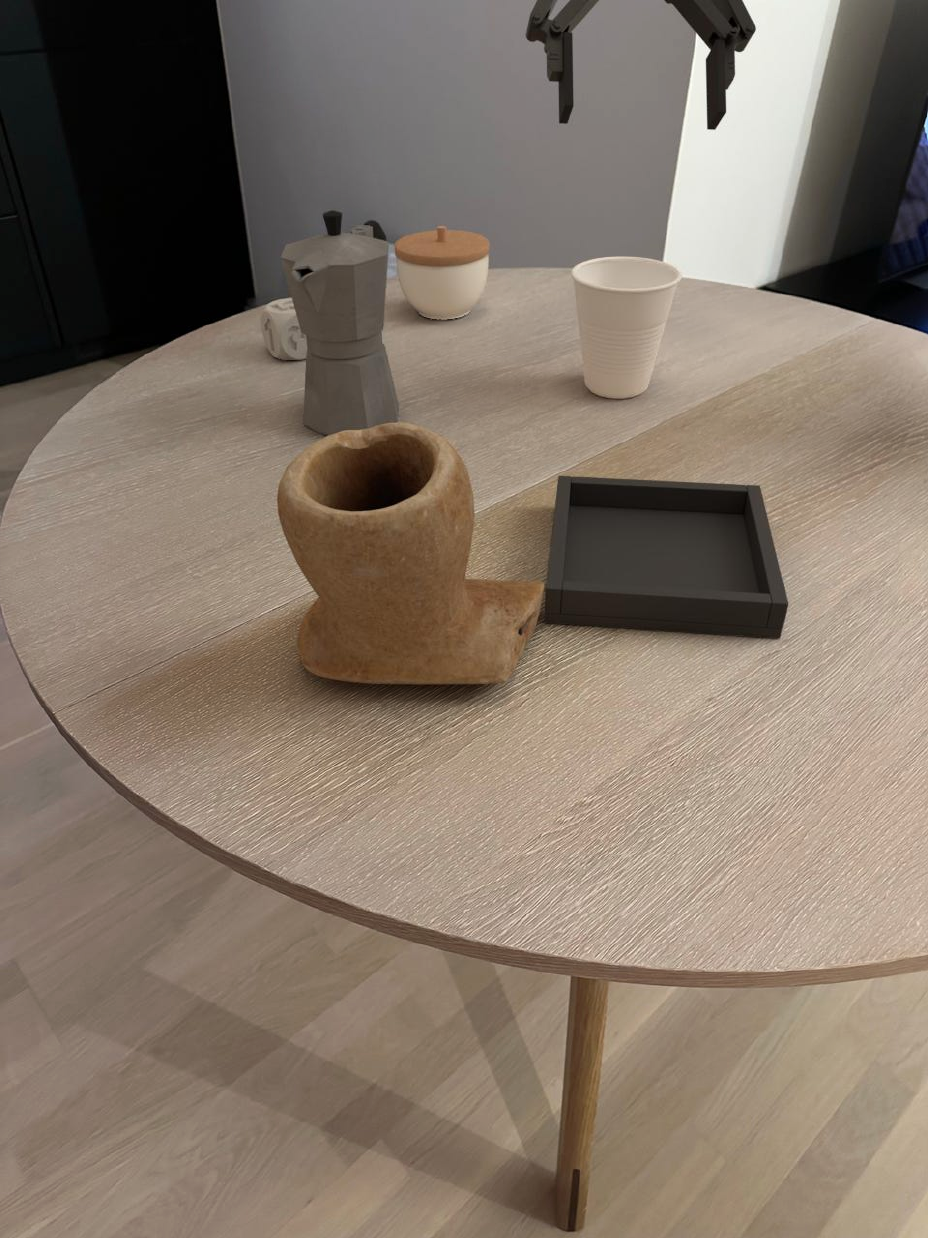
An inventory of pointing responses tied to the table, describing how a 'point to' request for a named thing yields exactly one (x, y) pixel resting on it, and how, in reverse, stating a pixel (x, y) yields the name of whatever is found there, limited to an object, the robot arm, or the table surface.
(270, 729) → the table surface
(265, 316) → the die
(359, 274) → the coffeepot
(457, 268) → the trinket box
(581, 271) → the cup
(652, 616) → the tray
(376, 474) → the stone cup
